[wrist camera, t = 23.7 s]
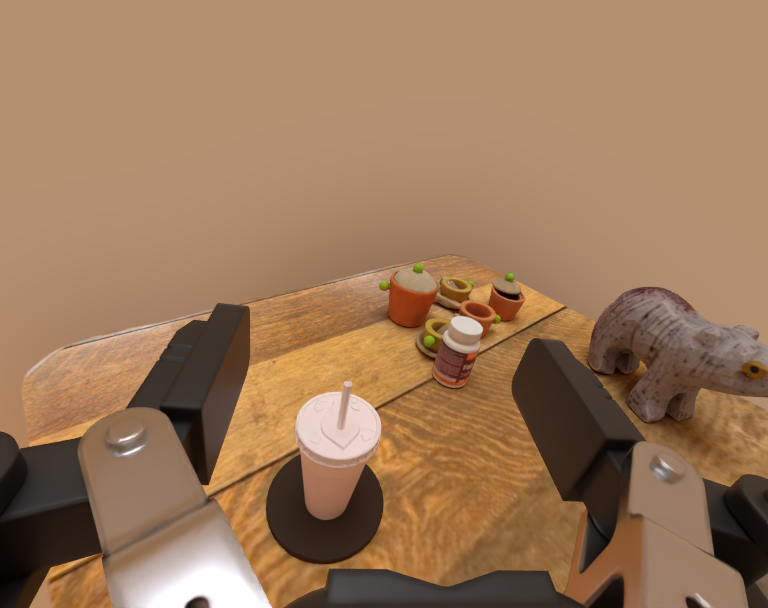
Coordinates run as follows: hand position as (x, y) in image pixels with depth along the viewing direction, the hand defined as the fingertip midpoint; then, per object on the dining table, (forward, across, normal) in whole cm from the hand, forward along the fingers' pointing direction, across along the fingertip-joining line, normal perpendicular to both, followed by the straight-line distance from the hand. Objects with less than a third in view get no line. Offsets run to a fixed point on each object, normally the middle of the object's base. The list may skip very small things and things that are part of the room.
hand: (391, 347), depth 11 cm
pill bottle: (+29, -15, +26) cm, 42 cm away
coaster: (+11, 0, +26) cm, 28 cm away
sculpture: (+28, -44, +26) cm, 58 cm away
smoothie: (+11, 0, +26) cm, 28 cm away
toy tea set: (+43, -19, +26) cm, 54 cm away
